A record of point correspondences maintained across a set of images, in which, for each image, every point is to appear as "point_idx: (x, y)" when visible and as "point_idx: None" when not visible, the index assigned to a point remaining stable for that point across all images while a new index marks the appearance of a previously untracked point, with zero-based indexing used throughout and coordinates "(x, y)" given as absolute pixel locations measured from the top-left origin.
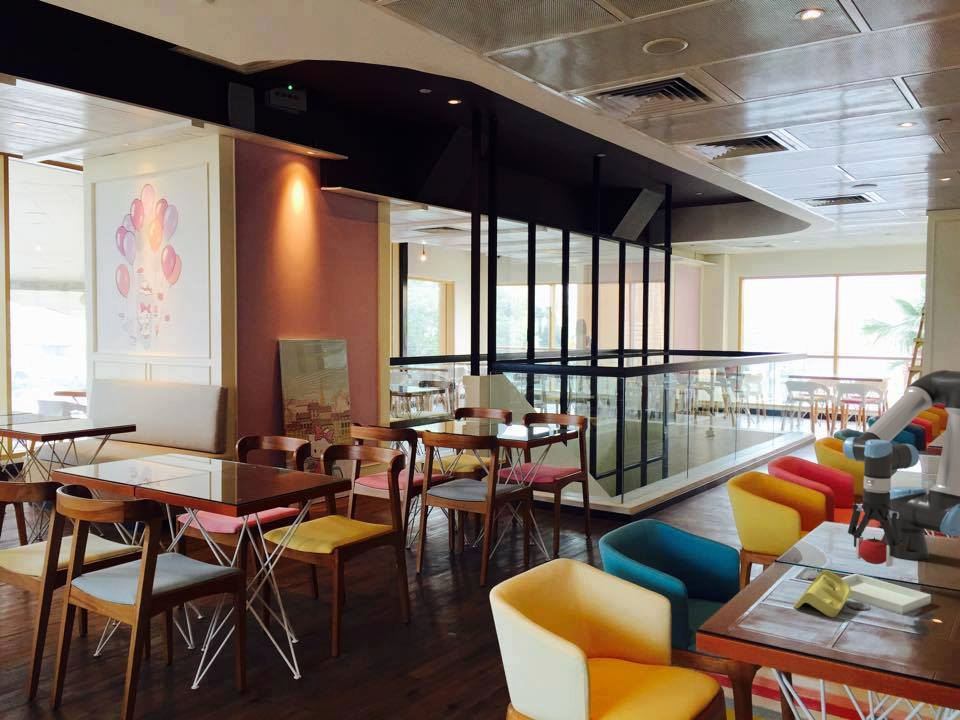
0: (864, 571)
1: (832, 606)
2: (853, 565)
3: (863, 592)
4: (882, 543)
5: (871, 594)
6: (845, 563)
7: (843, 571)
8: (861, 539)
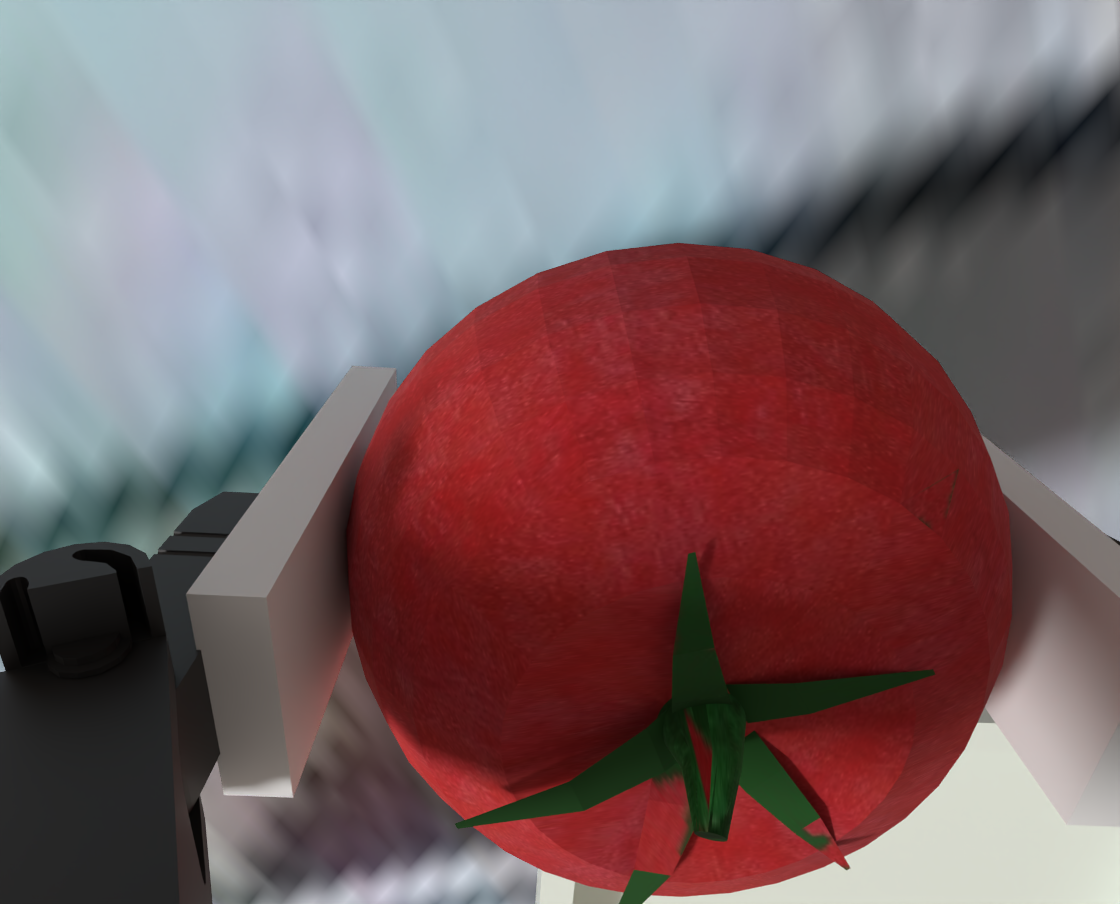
0: (410, 183)
1: None
2: (139, 5)
3: (763, 888)
4: (937, 759)
5: (828, 881)
6: (8, 9)
7: (270, 424)
8: (294, 656)
